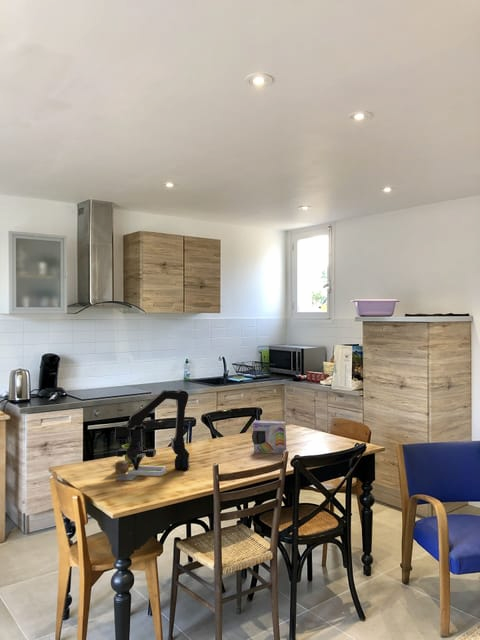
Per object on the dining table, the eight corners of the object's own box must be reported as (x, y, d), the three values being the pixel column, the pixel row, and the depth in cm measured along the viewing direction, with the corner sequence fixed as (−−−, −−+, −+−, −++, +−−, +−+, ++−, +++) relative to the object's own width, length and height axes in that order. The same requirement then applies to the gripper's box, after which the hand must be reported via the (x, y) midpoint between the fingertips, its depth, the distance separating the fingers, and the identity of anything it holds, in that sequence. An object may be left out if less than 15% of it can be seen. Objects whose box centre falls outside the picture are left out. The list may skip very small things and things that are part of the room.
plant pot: (122, 464, 269) (122, 448, 269) (121, 460, 278) (121, 443, 278) (140, 463, 272) (140, 446, 272) (139, 458, 281) (139, 442, 281)
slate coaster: (137, 475, 250) (137, 474, 250) (132, 480, 242) (132, 479, 242) (121, 475, 251) (121, 474, 251) (115, 480, 243) (115, 479, 243)
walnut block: (128, 470, 259) (128, 460, 259) (125, 473, 254) (125, 463, 254) (118, 470, 259) (118, 460, 259) (115, 473, 254) (115, 463, 254)
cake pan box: (251, 452, 293) (251, 421, 293) (254, 450, 298) (253, 419, 298) (284, 454, 288) (284, 423, 288) (286, 452, 293) (286, 421, 293)
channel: (166, 470, 259) (166, 466, 259) (161, 475, 249) (161, 471, 249) (133, 469, 260) (133, 465, 260) (128, 474, 251) (128, 470, 251)
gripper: (112, 442, 249) (112, 474, 249) (149, 442, 247) (150, 475, 247) (119, 437, 260) (120, 468, 260) (156, 437, 258) (156, 468, 258)
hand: (136, 470), depth 256 cm, fingers closed
